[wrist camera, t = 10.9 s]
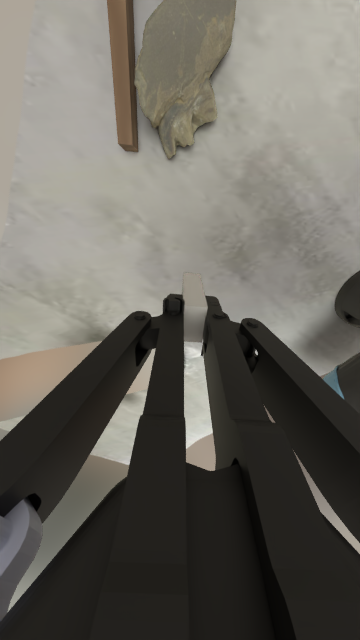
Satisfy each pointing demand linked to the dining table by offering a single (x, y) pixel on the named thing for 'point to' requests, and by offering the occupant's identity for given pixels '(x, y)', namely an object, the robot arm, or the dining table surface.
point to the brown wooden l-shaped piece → (124, 71)
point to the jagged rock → (182, 66)
